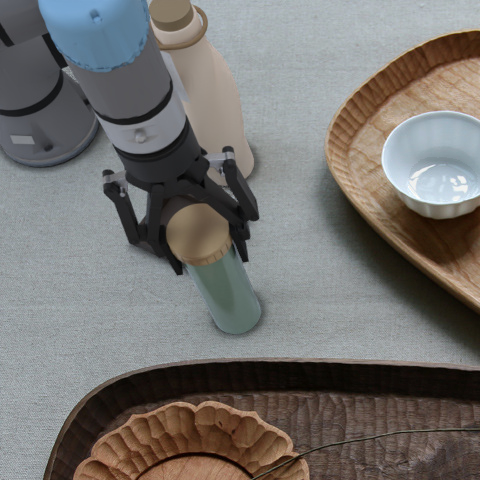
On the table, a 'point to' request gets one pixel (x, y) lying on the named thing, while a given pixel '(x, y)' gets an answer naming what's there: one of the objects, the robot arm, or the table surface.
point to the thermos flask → (227, 292)
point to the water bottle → (201, 81)
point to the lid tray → (170, 214)
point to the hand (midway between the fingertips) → (211, 259)
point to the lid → (198, 235)
